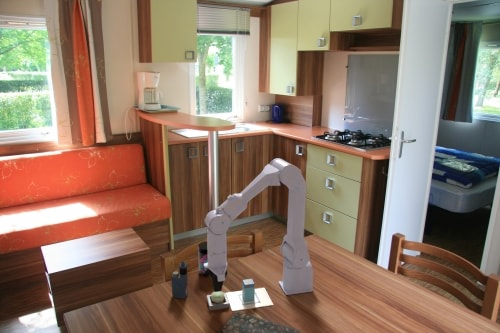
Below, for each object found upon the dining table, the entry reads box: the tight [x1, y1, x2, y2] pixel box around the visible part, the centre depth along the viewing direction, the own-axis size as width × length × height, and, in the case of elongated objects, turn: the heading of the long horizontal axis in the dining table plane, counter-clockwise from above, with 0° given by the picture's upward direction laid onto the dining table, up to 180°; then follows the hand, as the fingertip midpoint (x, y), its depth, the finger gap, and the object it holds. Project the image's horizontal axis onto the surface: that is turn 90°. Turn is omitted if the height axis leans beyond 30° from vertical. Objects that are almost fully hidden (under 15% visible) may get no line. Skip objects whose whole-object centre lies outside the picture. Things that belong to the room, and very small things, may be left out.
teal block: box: [241, 278, 256, 302], centre depth 127 cm, size 3×3×6 cm
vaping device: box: [170, 261, 189, 299], centre depth 128 cm, size 3×5×12 cm, turn 78°
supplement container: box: [197, 240, 210, 277], centre depth 143 cm, size 7×7×10 cm
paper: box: [225, 287, 274, 312], centre depth 128 cm, size 13×10×1 cm
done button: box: [210, 290, 225, 304], centre depth 125 cm, size 4×4×2 cm
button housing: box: [206, 292, 230, 311], centre depth 125 cm, size 6×6×2 cm
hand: (217, 290), depth 124 cm, fingers closed
